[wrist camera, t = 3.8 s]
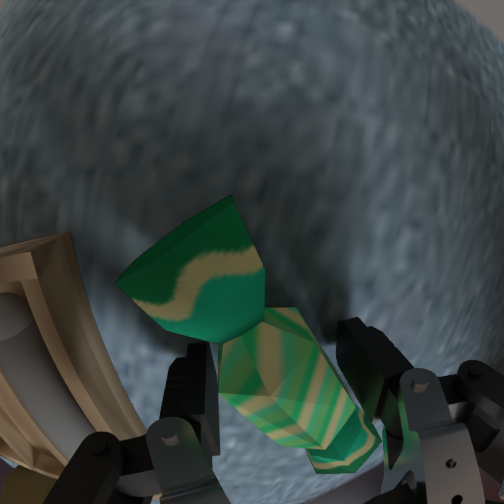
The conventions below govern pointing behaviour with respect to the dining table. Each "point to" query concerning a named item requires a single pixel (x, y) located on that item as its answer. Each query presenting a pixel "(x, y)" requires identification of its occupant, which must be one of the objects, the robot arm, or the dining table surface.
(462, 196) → the dining table surface
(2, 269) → the wooden compartment tray
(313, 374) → the candy
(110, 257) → the dining table surface
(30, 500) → the squeeze bottle
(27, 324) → the grey capsule rod
